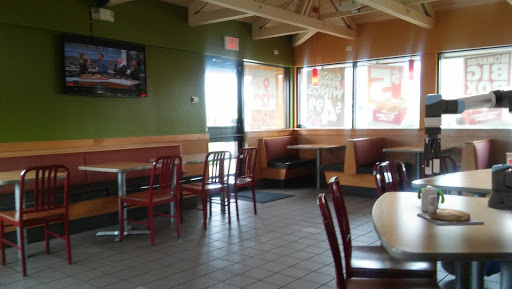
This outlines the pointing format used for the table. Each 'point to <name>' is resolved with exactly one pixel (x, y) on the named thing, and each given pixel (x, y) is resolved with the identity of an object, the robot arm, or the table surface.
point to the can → (427, 198)
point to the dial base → (443, 222)
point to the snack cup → (437, 195)
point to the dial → (445, 212)
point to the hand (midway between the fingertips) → (432, 173)
